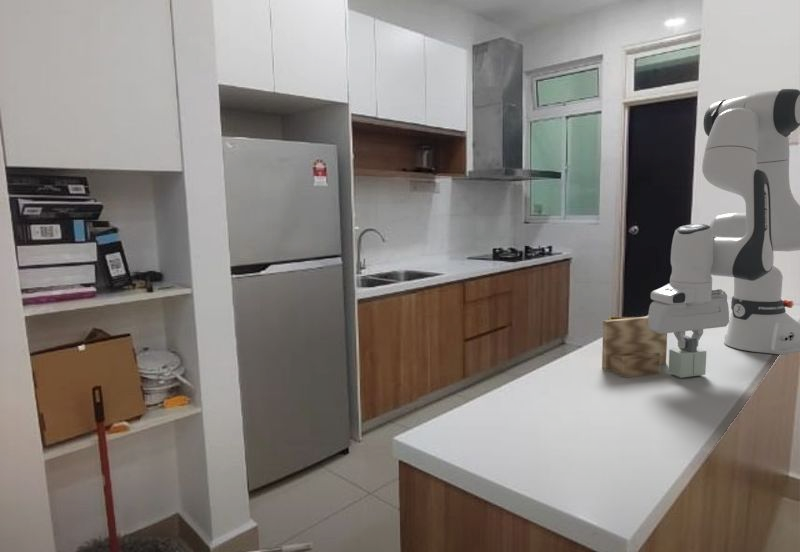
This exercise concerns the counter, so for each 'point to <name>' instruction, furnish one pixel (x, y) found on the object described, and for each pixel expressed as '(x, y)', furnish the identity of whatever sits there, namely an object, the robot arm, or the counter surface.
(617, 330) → the wall board
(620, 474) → the counter surface
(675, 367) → the pale green box
